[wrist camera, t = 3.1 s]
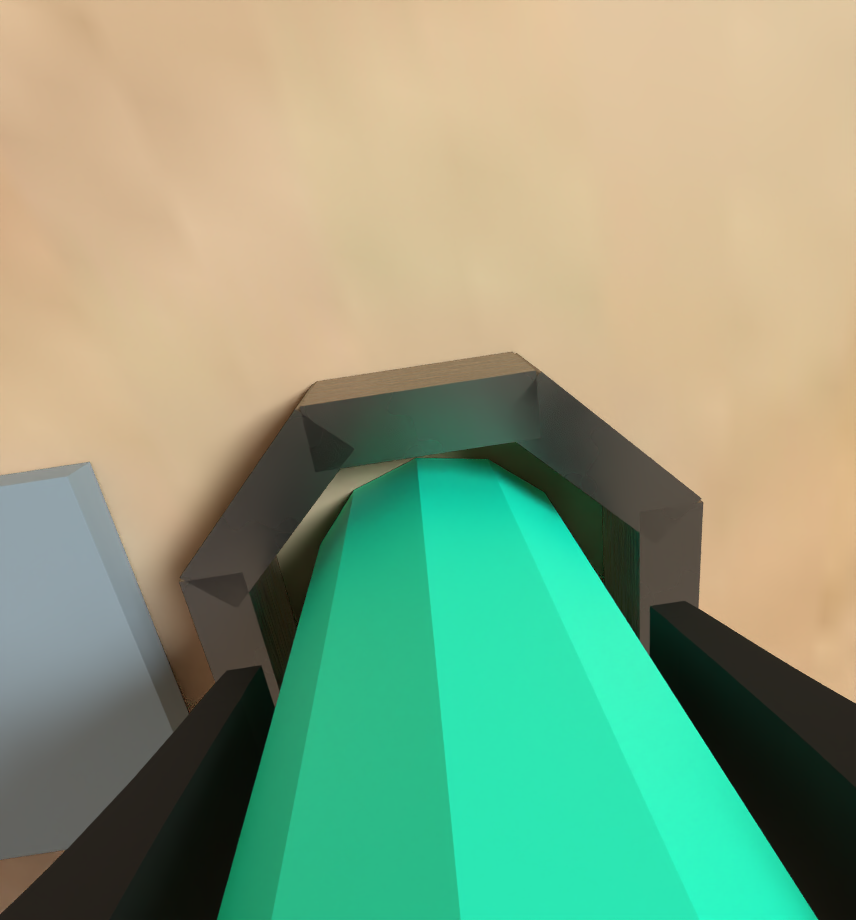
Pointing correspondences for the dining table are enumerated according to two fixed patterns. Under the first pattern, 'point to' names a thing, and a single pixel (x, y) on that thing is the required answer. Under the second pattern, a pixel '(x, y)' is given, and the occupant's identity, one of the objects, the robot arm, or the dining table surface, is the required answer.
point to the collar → (425, 433)
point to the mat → (71, 662)
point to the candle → (484, 734)
